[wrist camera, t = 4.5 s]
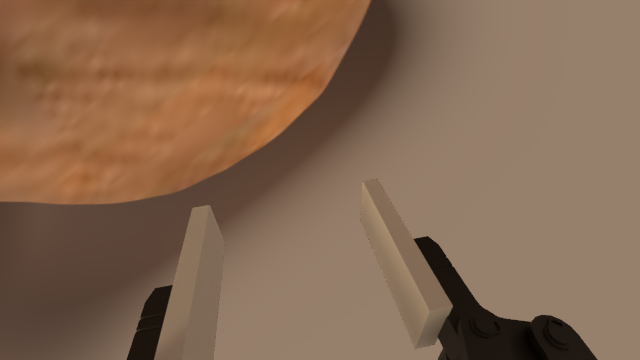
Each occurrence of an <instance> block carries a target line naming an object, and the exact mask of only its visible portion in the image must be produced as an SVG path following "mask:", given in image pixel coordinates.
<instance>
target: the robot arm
mask: <svg viewBox="0 0 640 360" xmlns="http://www.w3.org/2000/svg"><path fill="white" fill-rule="evenodd" d="M360 220H361V223H362V225H363V228H364V230H365V232H366V235H367V237H368V240H369V242H370V244H371V247H372V249H373V251H374V254H375V256H376V258H377V261H378V263H379V265H380V268H381V270H382V272H383V275H384V277H385V279H386V282H387V284H388V287H389V289H390V291H391V294H392V295H393V298H394V301H395V303H396V305H397V308H398V310H399V312H400V315H401V317H402V319H403V321H404V324H405V326H406V329H407V331H408V333H409V336H410V338H411V340H412V343H413V345H414V348H415V349H417V348H422V347H426V346H430V345H434V344H435V343H436V341H437V338H439V340H440V342H441V344H442V346H443V350H442V352H441V354H440V356H439V358H438V360H597V359H596V357H595V356H594V355H593V353H592V352H591V351H590V349H589V348H588V347H587V345H586V344H585V343H584V341H583V340H582V339H581V338H580V336H579V335H578V334H577V333H576V332H575V331H574V330H573V328H572V327H571V326H569V325H568V324H566V323H565V322H563V321H562V320H560V319H558V318H555V317H553V316H548V315H540V316H537V317H535V318H534V319H533V320H532V322H527V321H519V320H511V319H504V318H500V317H497V316H495V315H494V314H493V313H491V312H489V311H488V310H486V309H484V308H483V307H482V306H480V305H479V303H478V302H477V301H476V300H475V298H474V297H473V295H472V294H471V292H470V291H469V289H468V288H467V286H466V285H465V284H464V282H463V280H462V279H461V277H460V276H459V274H458V273H457V272H456V270H455V268H454V267H452V264H451V262H450V261H449V259H448V258H446V255H445V254H444V252H443V250H442V249H441V248H440V246H439V245H438V244H437V243H436V242H434V241H433V240H432V239H431V238H429V237H428V236H427V237H421V238H416V239H413V238H412V236H411V234H410V233H409V231H408V229H407V227H406V226H405V224H404V223H403V221H402V220H401V217H400V216H399V214H398V212H397V211H396V209H395V207H394V206H393V204H392V202H391V201H390V199H389V197H388V195H387V194H386V192H385V190H384V189H383V187H382V185H381V184H380V182H379V180H378V179H372V180H366V181H363V184H362V201H361V218H360ZM224 250H225V243H224V240H223V238H222V235H221V233H220V230H219V227H218V225H217V222H216V220H215V217H214V215H213V212H212V210H211V207H210V205H208V206H202V207H196V208H193V209H192V212H191V216H190V220H189V224H188V228H187V232H186V236H185V240H184V243H183V248H182V252H181V255H180V259H179V263H178V267H177V271H176V275H175V279H174V283H173V285H171V286H166V287H160V288H155V289H154V291H153V292H152V294H151V295H150V296H149V298H148V299H147V301H146V302H145V305H144V308H143V311H142V314H141V320H140V321H139V323H138V327H137V332H136V333H135V336H134V339H133V342H132V345H131V348H130V351H129V354H128V357H127V360H213V358H214V348H215V338H216V329H217V319H218V309H219V299H220V289H221V280H222V270H223V260H224Z"/></svg>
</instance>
